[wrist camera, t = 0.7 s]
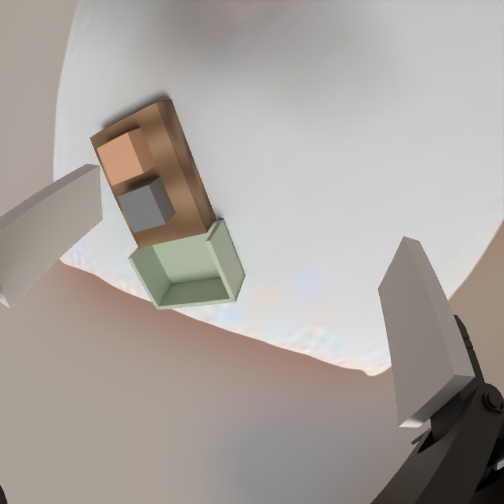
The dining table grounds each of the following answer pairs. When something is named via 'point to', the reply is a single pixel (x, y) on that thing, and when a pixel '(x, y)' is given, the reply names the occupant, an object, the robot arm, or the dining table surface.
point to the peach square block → (126, 156)
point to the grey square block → (147, 205)
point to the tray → (191, 270)
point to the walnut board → (164, 173)
